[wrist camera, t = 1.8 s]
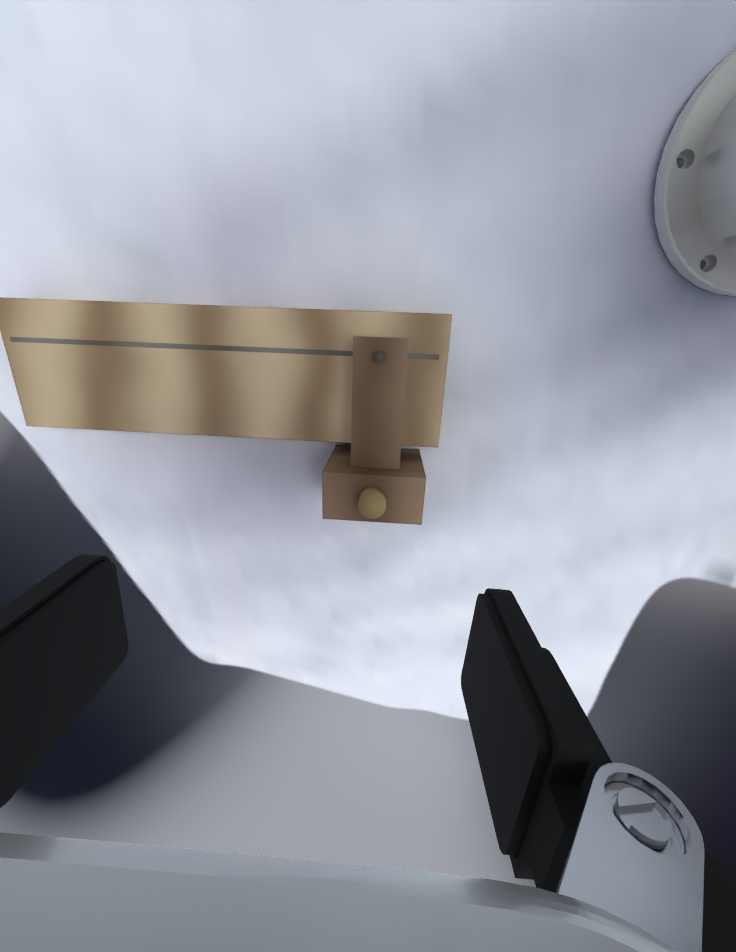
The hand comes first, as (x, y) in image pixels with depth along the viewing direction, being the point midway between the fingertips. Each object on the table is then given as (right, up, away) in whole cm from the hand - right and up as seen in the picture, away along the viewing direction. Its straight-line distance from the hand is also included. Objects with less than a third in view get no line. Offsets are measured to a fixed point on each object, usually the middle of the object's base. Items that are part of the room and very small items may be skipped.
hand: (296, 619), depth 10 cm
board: (-7, +11, +16) cm, 21 cm away
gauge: (+3, +8, +17) cm, 19 cm away
